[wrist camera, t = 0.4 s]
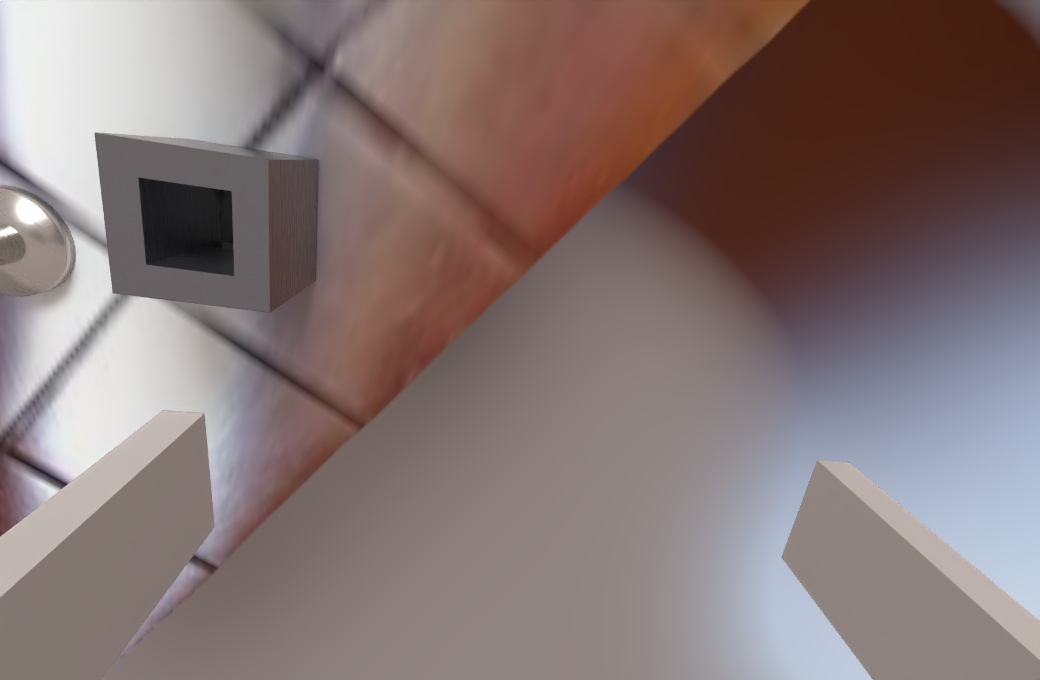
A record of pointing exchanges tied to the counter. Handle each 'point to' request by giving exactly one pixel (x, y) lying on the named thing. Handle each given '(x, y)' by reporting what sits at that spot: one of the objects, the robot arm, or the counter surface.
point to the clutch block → (207, 221)
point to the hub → (32, 244)
